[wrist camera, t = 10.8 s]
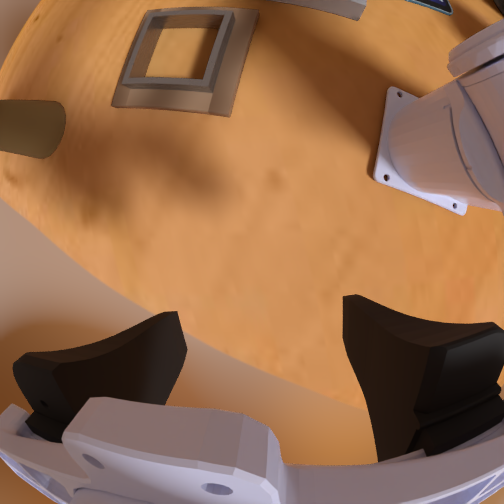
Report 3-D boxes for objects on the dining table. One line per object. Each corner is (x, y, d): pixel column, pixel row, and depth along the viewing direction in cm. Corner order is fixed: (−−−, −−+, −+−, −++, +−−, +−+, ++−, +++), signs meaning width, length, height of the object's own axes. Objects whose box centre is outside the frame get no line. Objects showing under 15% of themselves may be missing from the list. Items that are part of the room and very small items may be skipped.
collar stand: (259, 14, 15) (257, -1, 13) (230, 117, 18) (224, 109, 16) (150, 14, 16) (140, 2, 13) (116, 108, 18) (101, 102, 16)
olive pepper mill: (28, 162, 20) (-53, 167, 9) (33, 109, 18) (-43, 98, 8) (63, 154, 19) (-30, 152, 9) (69, 94, 18) (-15, 71, 7)
